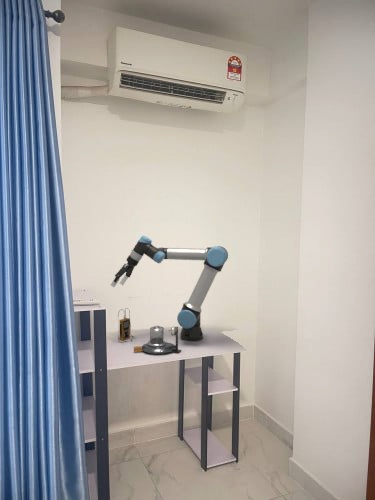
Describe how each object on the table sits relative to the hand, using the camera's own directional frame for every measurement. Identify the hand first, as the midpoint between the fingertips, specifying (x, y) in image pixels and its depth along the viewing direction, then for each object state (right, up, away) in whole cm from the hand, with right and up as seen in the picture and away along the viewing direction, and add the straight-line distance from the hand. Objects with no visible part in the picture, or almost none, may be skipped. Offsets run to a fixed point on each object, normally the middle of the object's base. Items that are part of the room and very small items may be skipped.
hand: (116, 285), depth 236 cm
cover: (+27, -34, -17) cm, 46 cm away
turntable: (+26, -36, -21) cm, 49 cm away
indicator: (+38, -36, -24) cm, 58 cm away
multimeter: (+8, -35, 0) cm, 36 cm away
